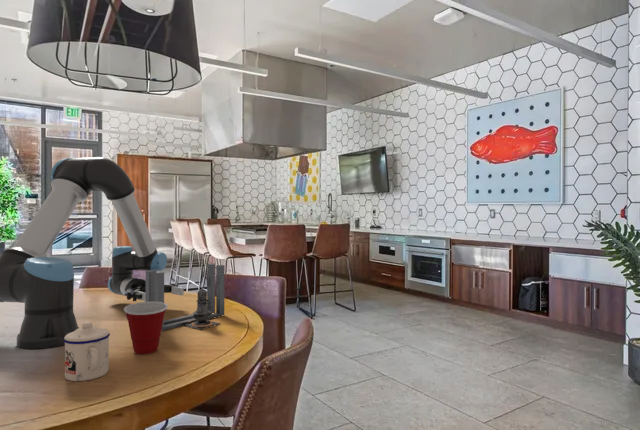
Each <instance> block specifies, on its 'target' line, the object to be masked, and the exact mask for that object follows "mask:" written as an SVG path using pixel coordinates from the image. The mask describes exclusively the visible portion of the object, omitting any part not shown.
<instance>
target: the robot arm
mask: <svg viewBox="0 0 640 430" xmlns="http://www.w3.org/2000/svg"><path fill="white" fill-rule="evenodd" d="M50 175H51V176H50V181H51V182H50V186H51V188H52V189H51V191H50V193H49V194H48V195H47V197H46V199H45V200H44V201H43V203H42V205H41V206H40V207H39V209H38V210H37V212H36V213H35V215H34V216H33V217H32V219H31V221H30V222H29V223H28V224H27V226H26V228H25V229H24V231H23V232H22V233H21V235H20V236H19V237H18V239H17V240H16V242H15V243H14V245H13V246H12V247H9V248H5V249H3V251H2V252H1V254H0V303H22V304H23V303H24V315H23V316H24V317H23V321H22V323H21V325H20V330H19V333H18V334H17V336H16V347H17V348H20V349H25V350H26V349H27V350H28V349H29V350H30V349H31V350H35V349H36V350H38V349H47V348H54V347H59V346H63V345H64V346H65V342H64V337H65V336H66V335H67V334H69V333H71V332H74V331H75V330H77V329H78V328H80V327H79V325H78V322H77V318H76V315H75V312H74V292H75V291H74V290H75V289H74V288H75V287H74V285H75V283H74V282H75V278H74V277H75V273H74V265H73V263H72V262H71V261H70V260H68V259H66V258H63V257H53V256H50V257H48V256H46V255H47V253H48V252H49V250H50V249H51V247H52V246H53V244H54V243H55V241H56V240H57V238H58V236H59V235H60V233H61V232H62V230H63V228H64V226H65V225H66V223H67V221H68V220H69V218H70V216H71V215H72V214H73V212H74V210H75V209H76V207H77V205H78V204H79V203H80V202H81V203H82V202H84V201H87V199H88V197H89V196H90V194H91V193H92V192H96V191H97V192H102V193H103V194H104V195H105V198H106V199H107V200H108V201H111V204H112V205H113V208H114V209H115V212H116V214H117V217H118V218H119V220H120V222H121V224H122V226H123V229H124V230H125V231H124V232H125V233H126V235H127V237H128V240H129V242H130V244H131V246H129V245H123V246H121V245H119V246H114V247H113V248H112V253H111V255H112V256H111V269H112V270H111V277H110V278H109V279H108V281H107V285H106V286H107V288H108V290H109V291H110V292H111V293H113V294H116V295H119V296H125V297H126V300H127V301H129V300H132V302H137V300H139V301H142V302H146V279H142V278H137V277H134V276H133V274H134V272H133V271H142V272H143V271H144V272H146V271H155V272H163V270H165V268H166V267H167V263H168V256H167V254H166V253H164V252H162V251H158V249H157V248H156V245H155V242H154V241H153V240H154V239H153V238H152V236H151V233H150V230H149V228H148V226H147V224H146V220H145V219H144V216H143V214H142V211H141V209H140V207H139V203H138V202H137V198H136V197H135V194H134V193H135V187H134V184H133V181H132V180H131V178H130V177H129V175H128V174H127V172H126V171H125V170H124V169H123V168H122V166H120V165H119V164H117V163H116V161H113V160H111V159H110V158H107V157H101V156H96V157H95V156H94V157H68V158H62V159H60V160H58V161H57V162H56V163H54V165H53V167H52V168H51V170H50ZM164 294H173V295H176V296H184V294H185V293H184V287H180V286H179V285H178V284H176V283H173V284H164Z"/></svg>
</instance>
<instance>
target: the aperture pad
mask: <svg viewBox="0 0 640 430" xmlns="http://www.w3.org/2000/svg"><path fill="white" fill-rule="evenodd" d="M207 321H209V322H210V324H208V325H203V326H197V325H194V323H195V322H193V323H189V324H184V326H183V327H187V326H188V328H191V327H192V328H191V329H194V328H196V329H195V330H198V329H201V330H204V329H203V328H205V329H207V328H206V327H209V328H211V327H210V326H213V327H215V326H214V325H216V326H219V325H218V324H220V325H221V323H220V322H216V321H211V320H209V319H208V320H207Z"/></svg>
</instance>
